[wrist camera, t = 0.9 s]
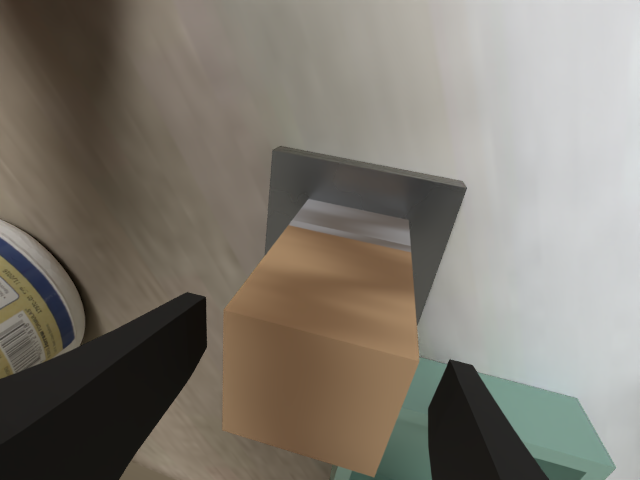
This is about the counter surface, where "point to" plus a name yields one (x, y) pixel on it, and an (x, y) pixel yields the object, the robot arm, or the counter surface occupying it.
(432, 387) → the bin
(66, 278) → the supplement tub
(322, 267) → the strut
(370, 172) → the base
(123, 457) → the robot arm
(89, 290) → the counter surface
